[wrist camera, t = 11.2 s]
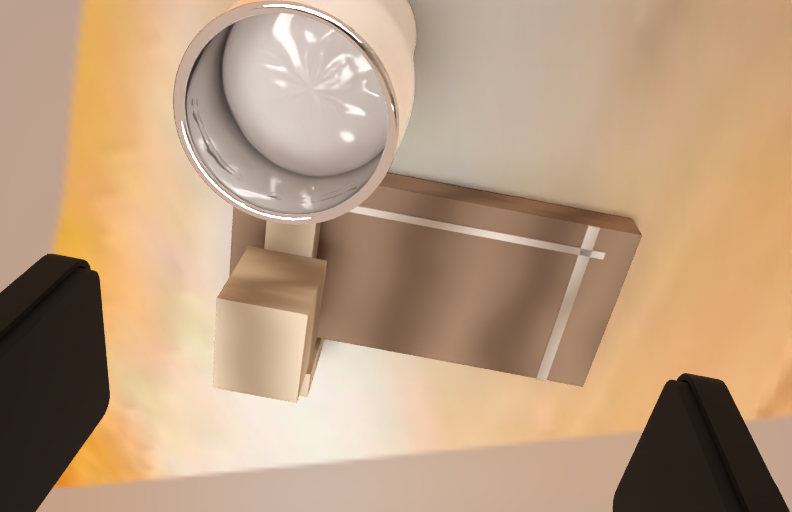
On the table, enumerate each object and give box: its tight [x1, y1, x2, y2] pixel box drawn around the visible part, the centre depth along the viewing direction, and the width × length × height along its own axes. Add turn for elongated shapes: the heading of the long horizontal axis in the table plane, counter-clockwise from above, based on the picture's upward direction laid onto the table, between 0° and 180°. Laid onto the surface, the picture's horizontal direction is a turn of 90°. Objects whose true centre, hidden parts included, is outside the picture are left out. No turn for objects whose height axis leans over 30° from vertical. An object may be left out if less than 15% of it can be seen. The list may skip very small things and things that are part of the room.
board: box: [229, 173, 642, 387], centre depth 37 cm, size 21×10×2 cm, turn 80°
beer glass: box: [173, 0, 417, 225], centre depth 25 cm, size 7×7×15 cm
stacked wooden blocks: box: [213, 221, 327, 403], centre depth 34 cm, size 4×11×9 cm, turn 170°
